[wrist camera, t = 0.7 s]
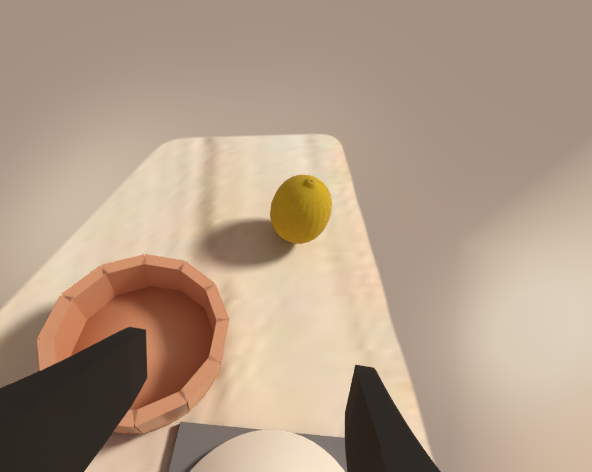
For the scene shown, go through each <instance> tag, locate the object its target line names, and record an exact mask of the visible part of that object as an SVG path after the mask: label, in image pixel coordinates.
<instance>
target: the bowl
mask: <svg viewBox="0 0 592 472" xmlns="http://www.w3.org/2000/svg"><path fill="white" fill-rule="evenodd" d="M101 266H102V267H101ZM101 266H99V267H97V268H96V269H95V270H93V271H92V272H91V273H89V274H88V275H87V276H85V277H84V278H82V279H81V280H80V281H78V282H77V283H76V284H74V285H73V286H72V287H70V288H69V289H67V290H66V291H65V292H63V293H62V295H60V297H59V298H58V300H57V302H56V304H55V306H54V308H53V310H52V311H51V313H50V315H49V317H48V319H47V321H46V323H45V324H44V326H43V328H42V330H41V332H40V334H39V336H38V337H37V348H38V359H39V369H40V371H41V370H43V369H45V368H47V367H49V366H51V365H53V364H56V363H58V362H60V361H62V360H64V359H66V358H68V357H70V356H72V355H74V354H76V353H78V352H80V351H82V350H84V349H86V348H88V347H90V346H91V345H93V344H95V343H97V342H99V341H101V340H103V339H105V338H107V337H109V336H111V335H113V334H115V333H117V332H119V331H121V330H123V329H125V328H127V327H134V328H140V329H146V344H147V379H146V381H145V383H144V385H143V387H142V389H141V391H140V392H139V394H138V396H137V398H136V399H135V401H134V403H133V405H132V406H131V408H130V409H129V411H128V412H127V413H126V415H125V416H124V418H123V419H122V420H121V422H120V423H119V424H118V426H117V427H116V429H115V430H114V431H113V432H117V433H128V434H134V433H139V434H142V433H146V432H148V431H152V430H156V429H159V428H161V427H164V426H166V425H169V424H170V423H172V422H174V421H176V420H178V419H179V418H181V417H182V416H184V415H185V414H187V413H189V412H190V411H191V410H192V408H194V407H195V406H196V405H197V404H198V403H199V402H200V400H201V399H202V398H203V397H204V396H205V394H206V393H207V392H208V390H209V389H210V387H211V386H212V384H213V382H214V381H215V379H216V378H217V377H218V375H219V371H220V365H221V360H222V355H223V349H224V344H225V339H226V334H227V328H228V322H229V318H228V315H227V312H226V310H225V307H224V305H223V302H222V299H221V297H220V294H219V292H218V289H217V286H216V284H215V283H214V282H213V281H211V280H210V279H209V278H207V277H206V276H205V275H203V274H202V273H201V272H199V271H198V270H197V269H195V268H194V267H193V266H191V265H190V264H189V263H187V262H185V261H182V260H176V259H170V258H164V257H158V256H153V255H147V254H146V255H140V256H136V257H132V258H128V259H124V260H120V261H116V262H112V263H108V264H104V265H101Z"/></svg>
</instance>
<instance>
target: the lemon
mask: <svg viewBox="0 0 592 472" xmlns="http://www.w3.org/2000/svg"><path fill="white" fill-rule="evenodd" d="M331 206H332V201H331V196H330V192H329V190H328V189H327V187H326V186H325V185H324V183H323V182H321V181H320V180H319V179H317V178H315V177H313V176H309V175H297V176H293V177H291V178H290V179H288V180H286V181H285V182H284V183H283V184H282V185H281V186H280V187H279V189H278V190H277V192H276V194H275V196H274V198H273V200H272V203H271V211H270V218H271V223H272V226H273V228H274V230H275V231H276V233H277V234H278V235H279V236H280V237H281V238H283V239H284V240H286V241H288V242H291V243H296V244H302V243H306V242H309V241H311V240H313V239H315V238H316V237H317V236H318V235H319V234H321V232H322V231H323V230H324V229H325V227H326V225H327V223H328V221H329V218H330V214H331Z"/></svg>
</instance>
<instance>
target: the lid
mask: <svg viewBox="0 0 592 472" xmlns="http://www.w3.org/2000/svg"><path fill="white" fill-rule="evenodd" d="M190 472H345V471H344V470H343V468H342V467H341V466H340V465H339V464H338V463H337V461H336V460H335V459H334V458H333V457H332V456H331V455H330V454H329V453H328V452H326V451H325V450H324V449H323V448H321V447H320V446H319V445H317V444H316V443H314V442H313V441H311V440H309V439H307V438H305V437H303V436H300V435H297V434H294V433H292V432H287V431H281V430H259V431H252V432H249V433H245V434H242V435H239V436H237V437H235V438H232V439H230V440H228V441H226V442H225V443H223V444H221V445H220V446H218V447H216V448H215V449H214V450H212V451H211V452H210V453H209V454H207V455H206V456H205V457H204V458H202V459H201V460H200V461H199V462H198V463H197V464H196V465H195V466H194V467H193V468H192V469H191V471H190Z"/></svg>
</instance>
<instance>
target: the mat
mask: <svg viewBox="0 0 592 472" xmlns="http://www.w3.org/2000/svg"><path fill="white" fill-rule="evenodd" d="M252 431H259V429H248V428H238V427H228V426H218V425H208V424H197V423H187V422H180V426H179V430H178V434H177V438H176V443H175V447H174V451H173V455H172V459H171V464H170V468H169V472H190V471H191V469H192V468H193V467H194V466H195V465H196V464H197V463H198V462H199V461H200V460H201V459H202V458H204V457H205V456H206V455H207V454H209V453H210V452H211V451H212V450H214V449H215V448H216V447H218V446H220V445H221V444H223V443H225V442H226V441H228V440H230V439H232V438H235V437H237V436H239V435H242V434H245V433H249V432H252ZM294 434H297V435H300V436H303V437H305V438H307V439H309V440H311V441H313V442H314V443H316V444H317V445H319V446H320V447H321V448H323V449H324V450H325V451H326V452H328V453H329V454H330V455H331V456H332V457H333V458H334V459H335V460H336V461H337V463H338V464H339V465H340V466H341V467H342V468H343V470H344V471H345V472H347V463H346V452H345V438H340V437H330V436H320V435H309V434H299V433H294Z"/></svg>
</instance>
